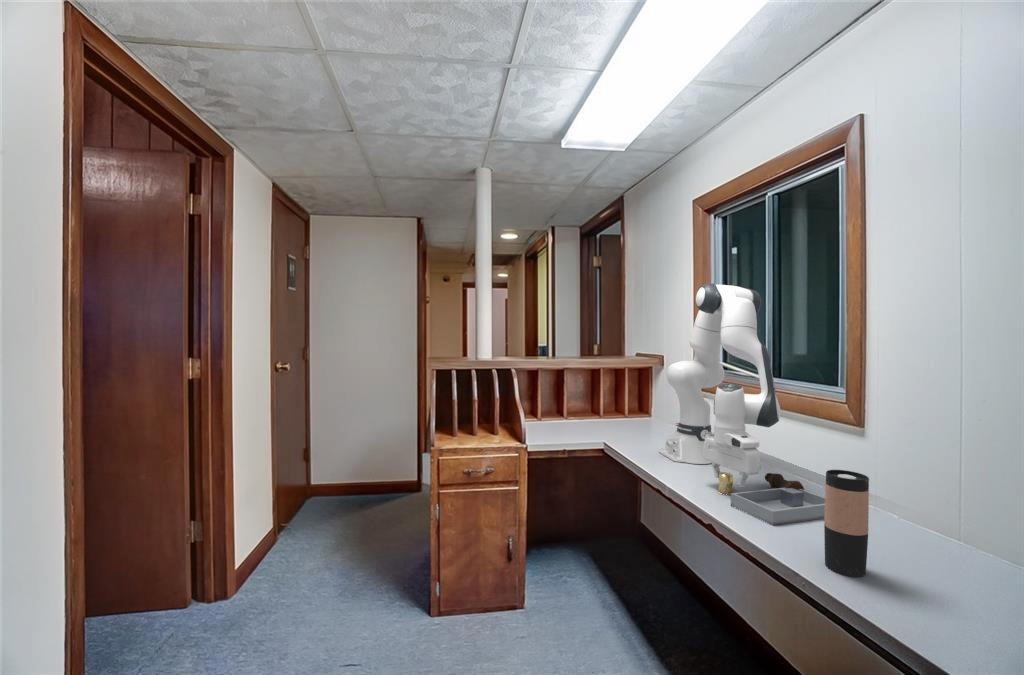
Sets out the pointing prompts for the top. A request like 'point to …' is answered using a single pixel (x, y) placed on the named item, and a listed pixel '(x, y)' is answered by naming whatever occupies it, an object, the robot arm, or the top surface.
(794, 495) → the steel block
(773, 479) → the bolt
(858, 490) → the travel mug
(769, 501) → the parts tray
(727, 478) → the brass cylinder
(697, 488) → the top surface
